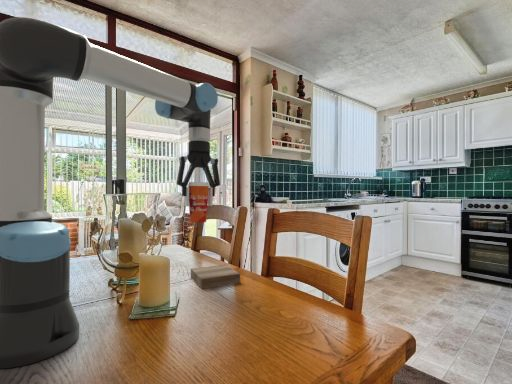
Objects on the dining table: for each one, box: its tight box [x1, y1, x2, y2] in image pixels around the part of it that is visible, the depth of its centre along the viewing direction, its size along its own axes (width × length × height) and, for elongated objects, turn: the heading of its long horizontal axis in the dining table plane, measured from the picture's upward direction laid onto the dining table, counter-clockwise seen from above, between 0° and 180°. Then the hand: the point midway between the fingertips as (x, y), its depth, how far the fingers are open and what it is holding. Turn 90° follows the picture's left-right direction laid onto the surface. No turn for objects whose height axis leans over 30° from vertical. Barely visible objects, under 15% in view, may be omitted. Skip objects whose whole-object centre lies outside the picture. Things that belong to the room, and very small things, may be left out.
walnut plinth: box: [190, 264, 241, 289], centre depth 96 cm, size 13×13×3 cm
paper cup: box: [187, 181, 210, 224], centre depth 101 cm, size 8×8×14 cm
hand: (198, 205), depth 101 cm, fingers closed on paper cup, 8 cm apart
